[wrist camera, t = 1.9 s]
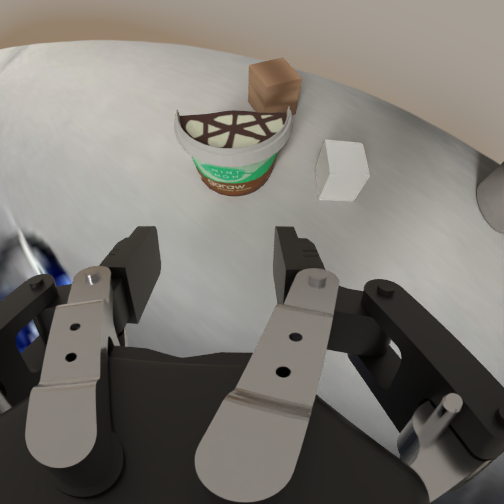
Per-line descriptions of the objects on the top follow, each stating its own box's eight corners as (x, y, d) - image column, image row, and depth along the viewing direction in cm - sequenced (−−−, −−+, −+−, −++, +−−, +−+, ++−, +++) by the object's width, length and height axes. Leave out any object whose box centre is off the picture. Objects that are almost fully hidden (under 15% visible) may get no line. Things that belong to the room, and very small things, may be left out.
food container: (183, 207, 35) (163, 158, 26) (186, 164, 37) (171, 109, 28) (288, 204, 36) (302, 153, 26) (284, 161, 38) (294, 106, 28)
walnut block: (278, 93, 42) (283, 57, 35) (295, 114, 40) (302, 78, 34) (248, 101, 41) (248, 65, 34) (263, 123, 40) (266, 86, 33)
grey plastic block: (348, 170, 38) (362, 143, 32) (353, 201, 36) (369, 175, 30) (314, 168, 38) (324, 139, 32) (318, 199, 36) (330, 173, 30)
